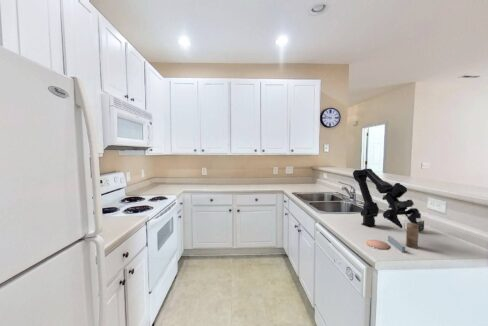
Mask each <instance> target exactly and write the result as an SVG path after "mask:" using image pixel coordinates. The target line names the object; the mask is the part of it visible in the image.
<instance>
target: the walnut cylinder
mask: <svg viewBox="0 0 488 326" xmlns="http://www.w3.org/2000/svg"><path fill="white" fill-rule="evenodd" d="M419 233H420V232H419V225H418V224H415V223H407V230H406V236H405V237H406V240H405V247H407V248H410V249H418V248H419Z"/></svg>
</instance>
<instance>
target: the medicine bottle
mask: <svg viewBox="0 0 488 326" xmlns="http://www.w3.org/2000/svg"><path fill="white" fill-rule="evenodd" d="M421 215H422V213H421V212H420V211H419V213H418V214H417V215H416V221H417V224H418V225H419V232H418V233H423V232H425V229H424V228H425V220H423V219H421V218H422V216H421ZM407 223H411V222H410V221H409V220H408V219H407V217H406V218H404V230H406V231H407Z"/></svg>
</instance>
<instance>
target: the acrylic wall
mask: <svg viewBox="0 0 488 326" xmlns="http://www.w3.org/2000/svg"><path fill="white" fill-rule="evenodd" d="M387 242H388V243H389V244H390V245H392V246H393V247H394V248H396V249H397V250H398V251H400V253H406V251H405V248H406V245H405V246H404V245H403V244H401V242H399V241H397V240H396V239H395V238H394V237H392V236H391V235H387Z"/></svg>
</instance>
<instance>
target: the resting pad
mask: <svg viewBox="0 0 488 326" xmlns="http://www.w3.org/2000/svg"><path fill="white" fill-rule="evenodd" d="M365 244H366V245H367V246H368V245H369V246H368V247H370V246H371V247H370V248H372V247H374V248H373V249H376V248H378V249H377V250H388V249H390V244H388V243H387V242H385V241H382V240H378V239H367V240H365Z"/></svg>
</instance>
